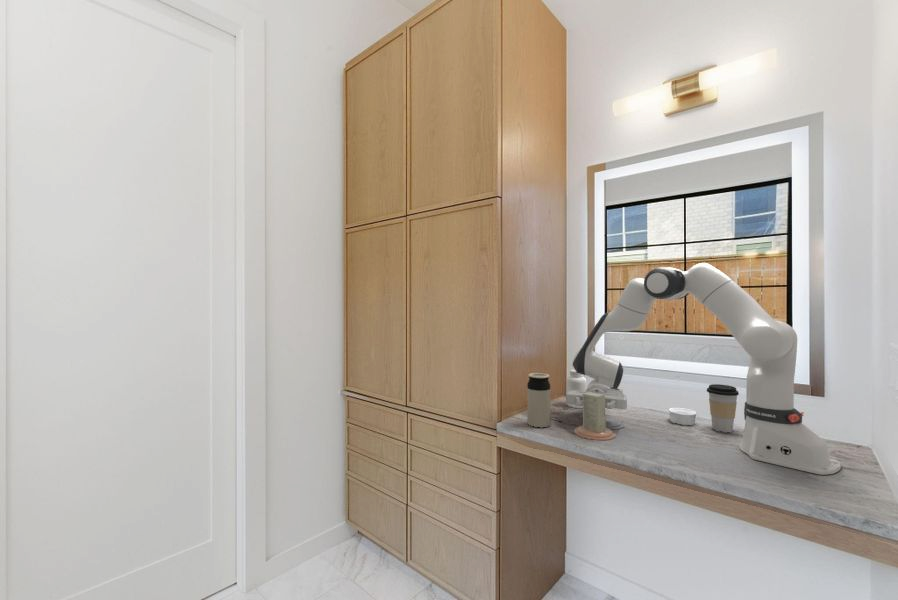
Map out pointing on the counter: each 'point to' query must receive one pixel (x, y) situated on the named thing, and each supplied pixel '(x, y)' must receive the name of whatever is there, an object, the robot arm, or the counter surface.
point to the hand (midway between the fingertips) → (594, 404)
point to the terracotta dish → (594, 434)
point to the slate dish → (613, 423)
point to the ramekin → (682, 416)
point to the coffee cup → (722, 406)
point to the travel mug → (538, 400)
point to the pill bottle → (576, 384)
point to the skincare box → (594, 412)
